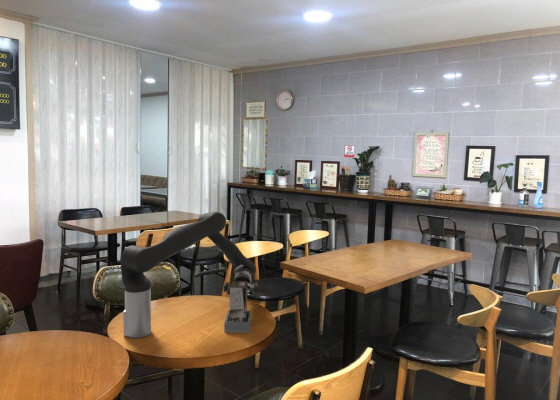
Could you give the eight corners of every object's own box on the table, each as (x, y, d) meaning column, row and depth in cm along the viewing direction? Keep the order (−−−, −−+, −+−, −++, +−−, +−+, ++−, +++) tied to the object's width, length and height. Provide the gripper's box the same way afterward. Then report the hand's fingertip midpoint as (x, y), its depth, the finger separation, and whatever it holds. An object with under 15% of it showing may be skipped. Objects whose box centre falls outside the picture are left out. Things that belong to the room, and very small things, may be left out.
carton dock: (224, 332, 168) (224, 322, 167) (227, 319, 180) (227, 310, 180) (249, 332, 168) (249, 322, 168) (251, 320, 181) (251, 310, 180)
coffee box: (245, 328, 170) (246, 287, 168) (228, 327, 170) (229, 287, 168) (247, 319, 179) (248, 280, 177) (231, 318, 179) (232, 280, 177)
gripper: (226, 272, 194) (222, 283, 178) (258, 272, 195) (257, 284, 179) (226, 288, 195) (222, 301, 179) (258, 289, 196) (257, 302, 179)
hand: (239, 292), depth 179 cm, fingers open, 8 cm apart
